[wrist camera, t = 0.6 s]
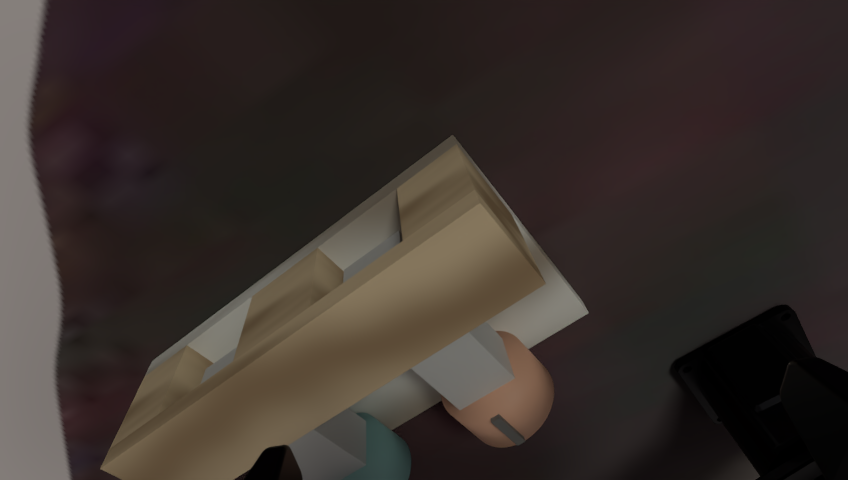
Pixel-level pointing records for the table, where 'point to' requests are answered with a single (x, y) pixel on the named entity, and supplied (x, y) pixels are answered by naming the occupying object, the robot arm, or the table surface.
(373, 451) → the teal knob
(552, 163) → the table surface
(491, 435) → the terracotta knob
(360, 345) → the mount
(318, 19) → the table surface
